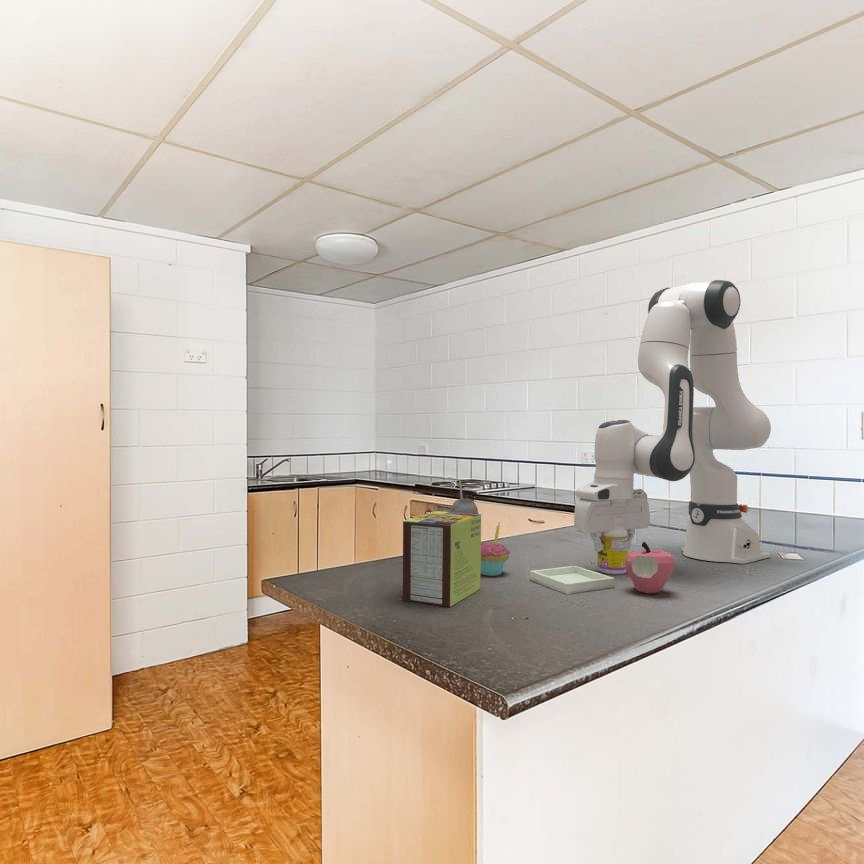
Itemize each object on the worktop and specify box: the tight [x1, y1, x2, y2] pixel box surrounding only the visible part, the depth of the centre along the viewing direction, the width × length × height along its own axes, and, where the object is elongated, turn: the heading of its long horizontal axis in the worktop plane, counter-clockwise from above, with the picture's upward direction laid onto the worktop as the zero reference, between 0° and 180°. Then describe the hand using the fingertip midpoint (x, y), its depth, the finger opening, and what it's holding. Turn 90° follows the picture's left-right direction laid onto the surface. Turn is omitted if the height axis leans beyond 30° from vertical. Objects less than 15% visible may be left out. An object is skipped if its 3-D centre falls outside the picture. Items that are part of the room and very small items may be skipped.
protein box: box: [402, 510, 482, 608], centre depth 126 cm, size 10×15×16 cm
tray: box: [529, 565, 616, 595], centre depth 135 cm, size 13×13×2 cm
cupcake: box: [480, 521, 511, 577], centre depth 144 cm, size 9×8×12 cm
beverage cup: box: [449, 479, 479, 514], centre depth 157 cm, size 7×7×20 cm
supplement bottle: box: [596, 517, 628, 575], centre depth 147 cm, size 7×7×13 cm
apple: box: [625, 541, 675, 595], centre depth 129 cm, size 10×9×10 cm
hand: (612, 549), depth 147 cm, fingers closed on supplement bottle, 7 cm apart
